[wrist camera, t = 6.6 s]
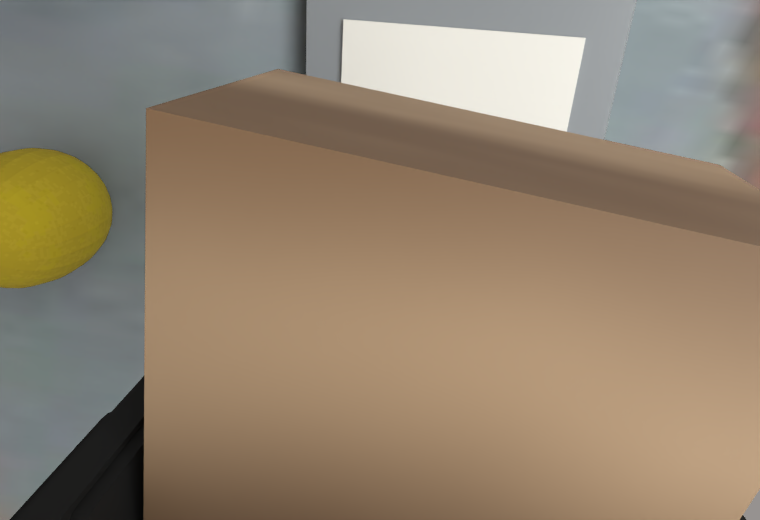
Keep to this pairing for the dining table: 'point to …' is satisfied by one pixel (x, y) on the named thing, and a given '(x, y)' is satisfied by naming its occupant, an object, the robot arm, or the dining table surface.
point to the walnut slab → (439, 316)
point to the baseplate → (479, 54)
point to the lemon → (48, 216)
